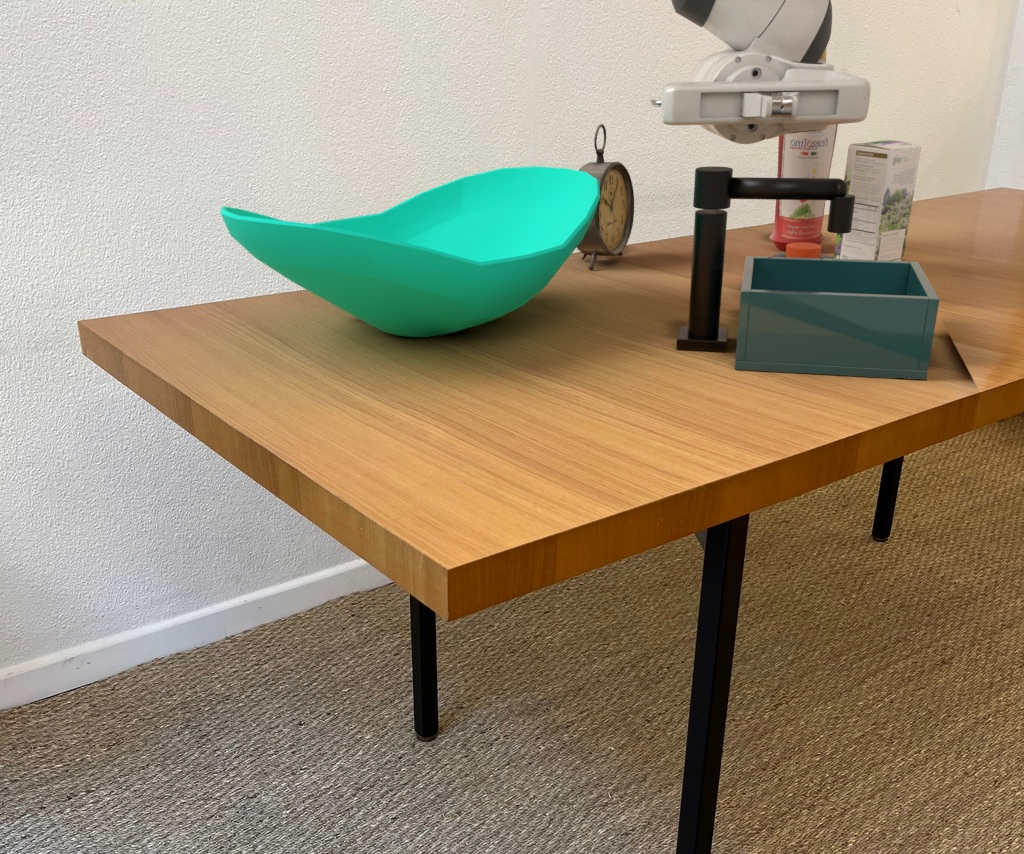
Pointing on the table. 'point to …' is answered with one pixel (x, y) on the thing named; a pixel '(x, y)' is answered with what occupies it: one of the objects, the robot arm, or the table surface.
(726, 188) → the spout
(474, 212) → the table top decor
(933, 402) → the table surface
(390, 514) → the table surface
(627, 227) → the alarm clock
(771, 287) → the sink
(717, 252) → the dark post on base
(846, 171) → the syrup box
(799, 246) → the button
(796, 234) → the liquor
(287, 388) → the table surface
